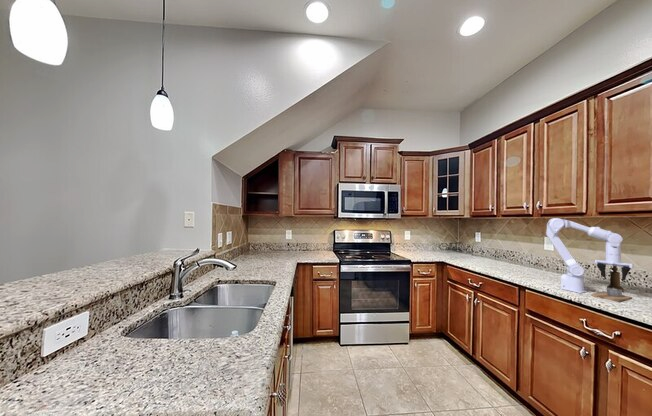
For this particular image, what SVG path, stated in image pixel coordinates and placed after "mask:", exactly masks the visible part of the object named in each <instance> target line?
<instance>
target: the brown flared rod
mask: <svg viewBox="0 0 652 416" xmlns="http://www.w3.org/2000/svg"><path fill="white" fill-rule="evenodd" d="M613 265H616V264H613ZM613 265H612V267H611V270H612V271H609V274H610V275H609V277H610V279H609V282H610V283H609V284H608V285H606V289H607V288H616V289H620V290H622V293H624V292H625V289H624V287H622V285H621V273H620V272H619V271H618V269H619V268H618V266H613Z"/></svg>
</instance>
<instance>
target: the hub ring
mask: <svg viewBox="0 0 652 416" xmlns="http://www.w3.org/2000/svg"><path fill="white" fill-rule="evenodd" d="M613 289H616V288H607V287H606V292H607V295H608V296H612V297H622V295H623V292H622V290H620V289H617V290H613Z"/></svg>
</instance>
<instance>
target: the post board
mask: <svg viewBox="0 0 652 416" xmlns="http://www.w3.org/2000/svg"><path fill="white" fill-rule="evenodd" d="M613 290H617V289H613ZM590 296H591V297H596V298H598V297H599V298H598V299H604V300H608V301H613V302H616V303H622V302H626V301H629V300H633V297H632V296H629V295H624V294H622V297H612V296H608V295H607V291H606V290H605V291H604V290H603V291H599V292H594V293H591V294H590Z"/></svg>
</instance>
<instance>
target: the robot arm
mask: <svg viewBox="0 0 652 416" xmlns="http://www.w3.org/2000/svg"><path fill="white" fill-rule="evenodd" d="M563 228H572V229H573V230H574V229H575V230H577V231H581V232H585V233H586V234H587V235H588V236H589V237H592V238H594V239H595V238H596V239H598V240H602V241H605V260H601V259H595V260H594V264H596V267H597V268H598V270H599V271H600V274H601V277H602V278H606V276H607V275H606V268H607V266H612V267H613V266H617V267H621V273H622V274H621V280H622V281H626V280H627V276H628V275H629V272H631V270H632V269H633V268H634V263H626V262H622V255H621V254H622V251H621V250H622V249H621V248H622V247H621V243H622V242H623V240H624V238H623V237H622V235H620V234H619V233H615V232H612V231H611V230H606V229H603V228H601V227H600V226H591V227H588V226H586V225H583V224H580V223H579V222H578V223H577V222H575V221H572V220H567V219H563V218H559V217H557V218H556V217H553V218H550V219H548V222H547V223H546V230H545V235H546V237H547V239H548V240H549V242H550V243H551V244H552V245H553V247H554V249H555V250H556V251H557V253H558V254H559V256H560V258H561V259H562V261H563V263H564V264H565V268H566V271H567V273H564V274H562V275H561V277H560V283H561V284H560V286H561V287H560V289H561V290H565V291H569V292H573V293H579V294H583V293H588V290H585V277H584V275H585V271H586V270H585V269H584V267H582V266H580V265H579V264H578V262H577V261H576V260H575V259H574V257H573V256H572V255H571V253H570V252H569V250H568V248H567V247H566V246H565V244H564V243H563V241H562V240H561V238H560V237H559V235H558V234H559V233H560V231H561V230H562V229H563ZM613 264H616V265H613Z"/></svg>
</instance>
